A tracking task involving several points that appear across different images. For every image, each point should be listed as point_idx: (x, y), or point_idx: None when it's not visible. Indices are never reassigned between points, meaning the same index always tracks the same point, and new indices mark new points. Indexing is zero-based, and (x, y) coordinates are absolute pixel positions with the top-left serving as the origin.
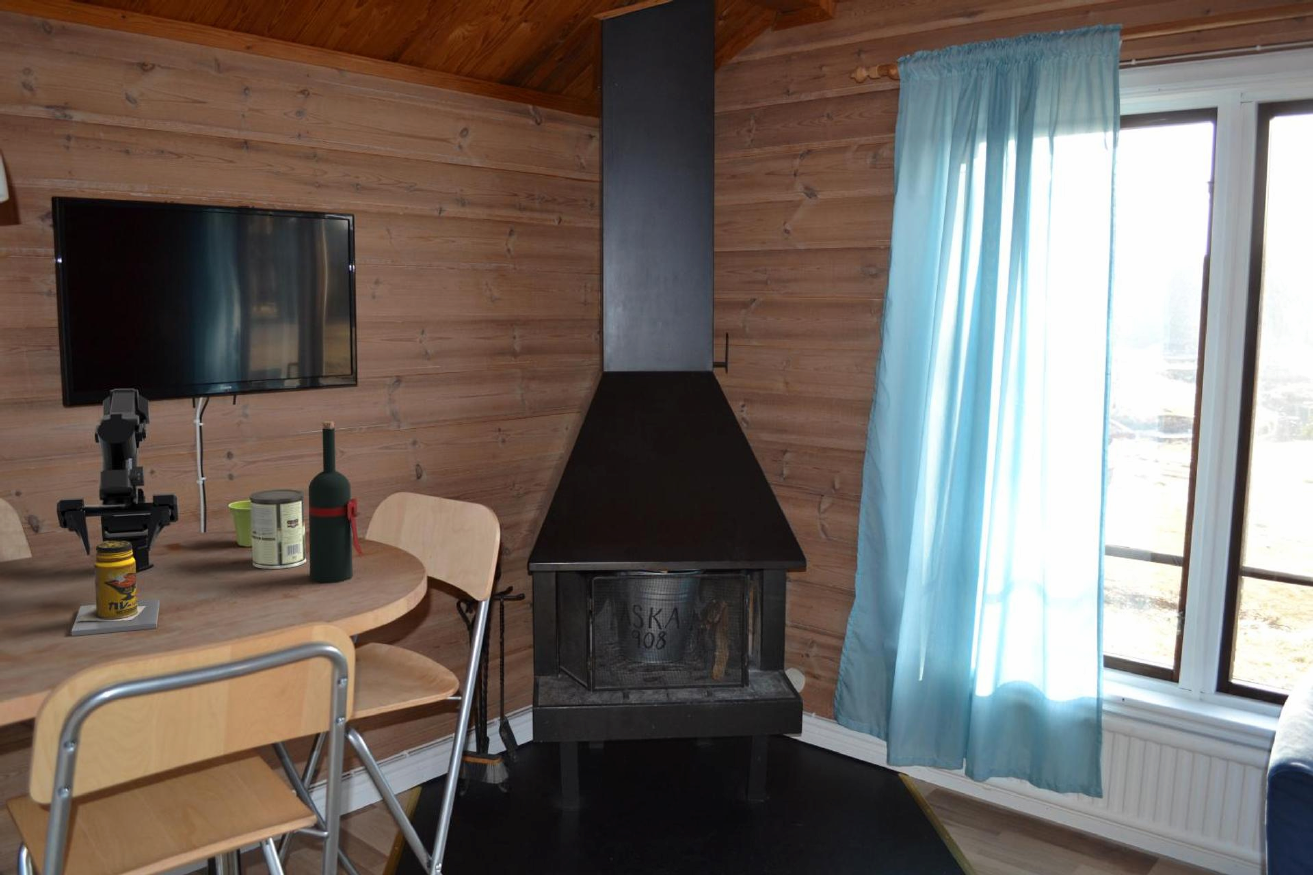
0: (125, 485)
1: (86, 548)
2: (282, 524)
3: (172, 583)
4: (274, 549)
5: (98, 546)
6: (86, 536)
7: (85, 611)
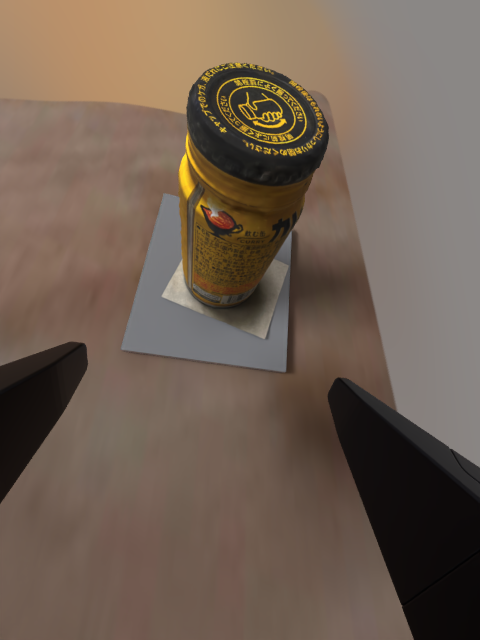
0: None
1: (357, 387)
2: None
3: (21, 592)
4: None
5: (321, 113)
6: (407, 430)
7: (275, 325)
